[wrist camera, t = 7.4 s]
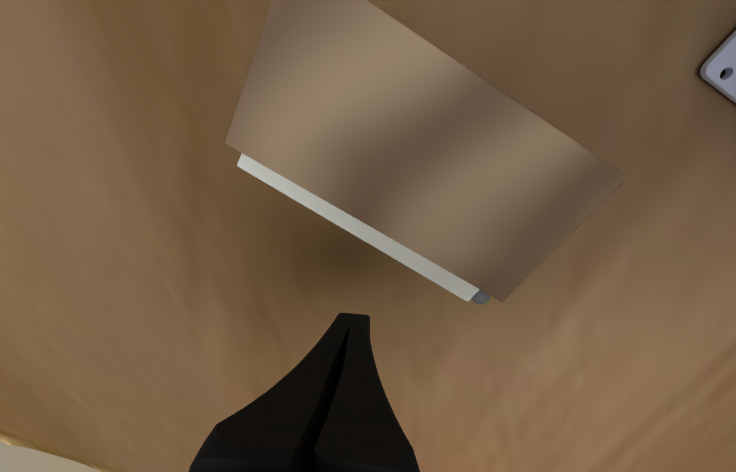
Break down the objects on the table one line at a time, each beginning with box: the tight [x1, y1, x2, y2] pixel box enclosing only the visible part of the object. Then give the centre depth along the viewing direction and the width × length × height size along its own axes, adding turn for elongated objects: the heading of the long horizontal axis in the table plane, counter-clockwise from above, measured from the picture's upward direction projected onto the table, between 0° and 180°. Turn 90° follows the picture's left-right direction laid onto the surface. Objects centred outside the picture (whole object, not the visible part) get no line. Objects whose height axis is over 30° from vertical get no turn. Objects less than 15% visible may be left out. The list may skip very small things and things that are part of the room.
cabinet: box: [225, 0, 628, 302], centre depth 15 cm, size 15×7×6 cm, turn 60°
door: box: [237, 154, 490, 304], centre depth 17 cm, size 14×2×5 cm, turn 59°
